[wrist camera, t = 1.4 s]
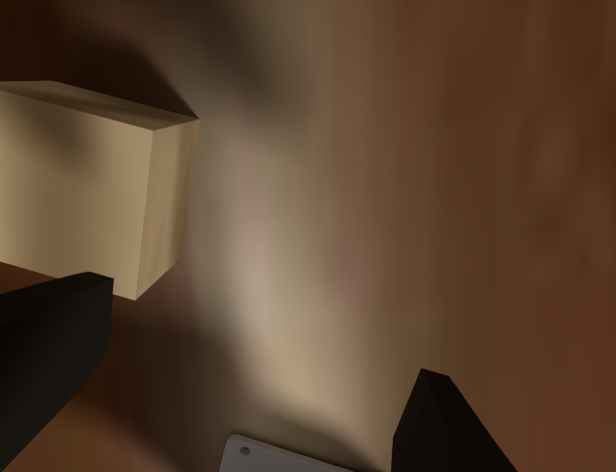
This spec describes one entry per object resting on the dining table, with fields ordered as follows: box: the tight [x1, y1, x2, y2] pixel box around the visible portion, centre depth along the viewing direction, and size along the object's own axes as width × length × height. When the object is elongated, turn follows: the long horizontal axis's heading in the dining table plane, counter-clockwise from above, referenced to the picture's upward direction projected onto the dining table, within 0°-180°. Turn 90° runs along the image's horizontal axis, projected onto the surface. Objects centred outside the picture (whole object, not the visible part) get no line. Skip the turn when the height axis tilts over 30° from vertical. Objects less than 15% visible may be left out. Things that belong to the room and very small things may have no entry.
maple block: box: [0, 81, 200, 300], centre depth 17 cm, size 6×6×4 cm
